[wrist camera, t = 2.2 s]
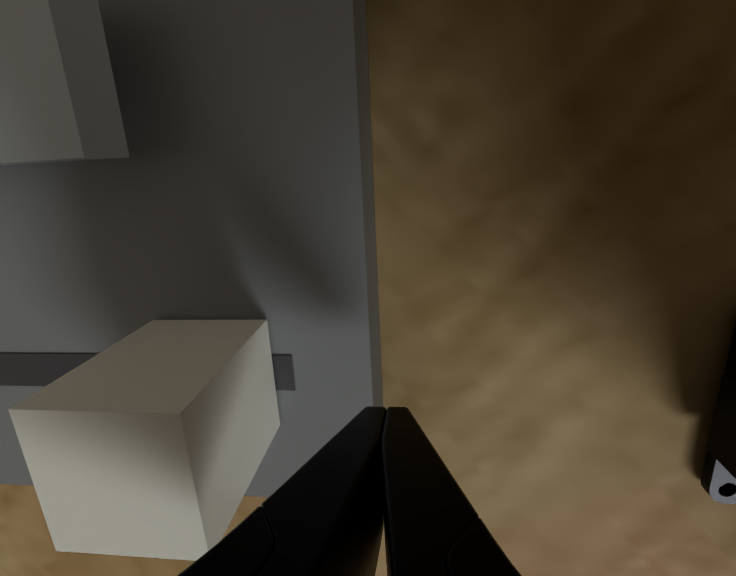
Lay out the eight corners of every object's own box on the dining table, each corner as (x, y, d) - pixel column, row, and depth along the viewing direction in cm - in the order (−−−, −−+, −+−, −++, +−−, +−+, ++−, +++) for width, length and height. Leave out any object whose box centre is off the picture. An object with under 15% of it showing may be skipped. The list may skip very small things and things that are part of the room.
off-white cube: (266, 319, 10) (179, 413, 7) (280, 425, 11) (209, 561, 7) (153, 319, 11) (8, 409, 7) (174, 421, 12) (56, 550, 8)
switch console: (341, -577, 8) (301, -960, 5) (384, 444, 14) (376, 510, 11) (-278, -414, 9) (-553, -638, 7) (11, 432, 16) (-71, 487, 13)
